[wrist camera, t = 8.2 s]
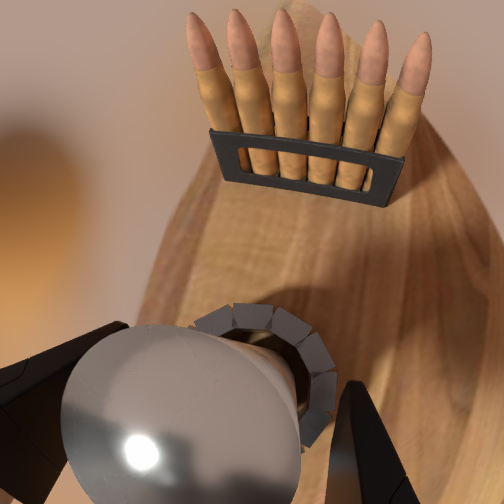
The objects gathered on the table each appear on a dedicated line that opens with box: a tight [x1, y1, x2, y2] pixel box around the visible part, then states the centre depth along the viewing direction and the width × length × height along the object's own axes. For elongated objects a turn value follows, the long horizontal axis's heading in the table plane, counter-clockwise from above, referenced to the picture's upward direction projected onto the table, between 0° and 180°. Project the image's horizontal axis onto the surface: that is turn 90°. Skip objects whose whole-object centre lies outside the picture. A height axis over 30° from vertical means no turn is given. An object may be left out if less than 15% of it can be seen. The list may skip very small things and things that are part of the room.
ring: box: [188, 303, 337, 454], centre depth 15 cm, size 8×8×2 cm
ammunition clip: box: [186, 9, 432, 208], centre depth 14 cm, size 11×2×12 cm, turn 76°
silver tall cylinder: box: [61, 324, 301, 504], centre depth 10 cm, size 4×4×12 cm
